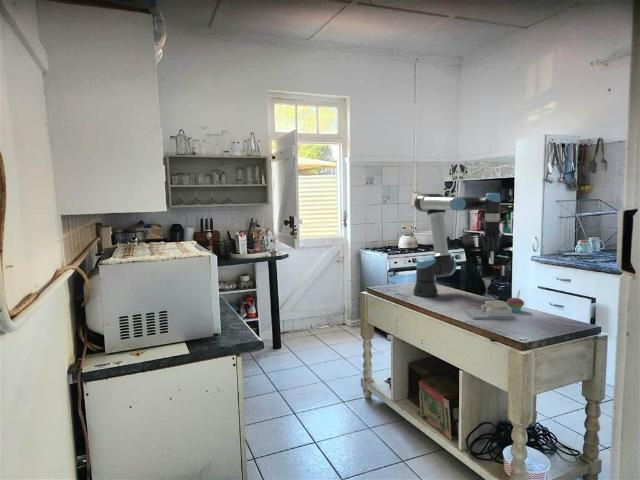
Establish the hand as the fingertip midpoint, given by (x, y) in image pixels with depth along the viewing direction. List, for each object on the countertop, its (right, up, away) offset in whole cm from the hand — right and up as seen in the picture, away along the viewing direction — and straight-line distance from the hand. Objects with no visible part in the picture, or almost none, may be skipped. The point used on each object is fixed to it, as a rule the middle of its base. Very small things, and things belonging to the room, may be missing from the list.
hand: (491, 263), depth 231 cm
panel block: (-4, -25, -16) cm, 30 cm away
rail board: (-8, -26, -15) cm, 31 cm away
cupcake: (+10, -25, -7) cm, 28 cm away
